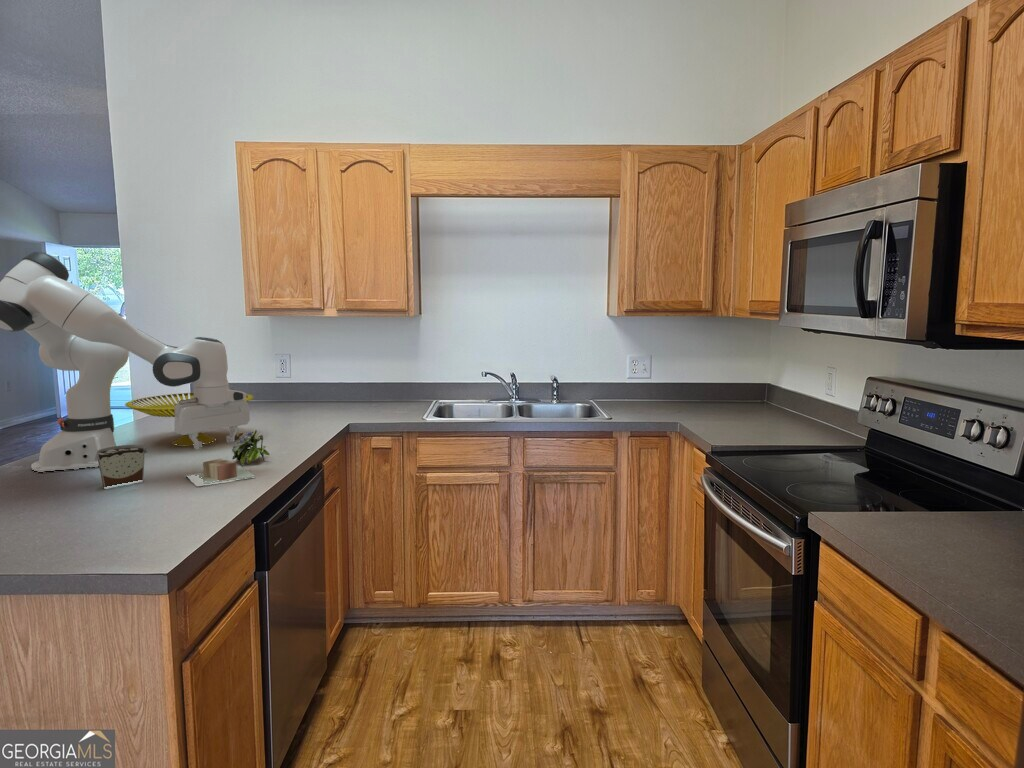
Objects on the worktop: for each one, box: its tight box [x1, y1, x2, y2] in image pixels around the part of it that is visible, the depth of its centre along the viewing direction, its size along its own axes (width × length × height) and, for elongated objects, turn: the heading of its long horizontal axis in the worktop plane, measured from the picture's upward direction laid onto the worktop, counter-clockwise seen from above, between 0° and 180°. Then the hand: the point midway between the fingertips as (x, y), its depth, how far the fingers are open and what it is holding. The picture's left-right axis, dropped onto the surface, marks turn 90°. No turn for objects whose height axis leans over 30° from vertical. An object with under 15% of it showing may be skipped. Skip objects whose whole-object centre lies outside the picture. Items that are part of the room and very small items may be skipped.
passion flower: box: [230, 429, 270, 466], centre depth 198 cm, size 11×11×12 cm
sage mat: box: [185, 466, 256, 484], centre depth 180 cm, size 15×13×1 cm
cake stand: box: [124, 392, 255, 445], centre depth 225 cm, size 40×40×15 cm
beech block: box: [202, 458, 237, 481], centre depth 179 cm, size 5×4×8 cm
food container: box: [95, 444, 148, 488], centre depth 173 cm, size 12×6×10 cm, turn 141°
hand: (214, 445), depth 180 cm, fingers open, 8 cm apart
